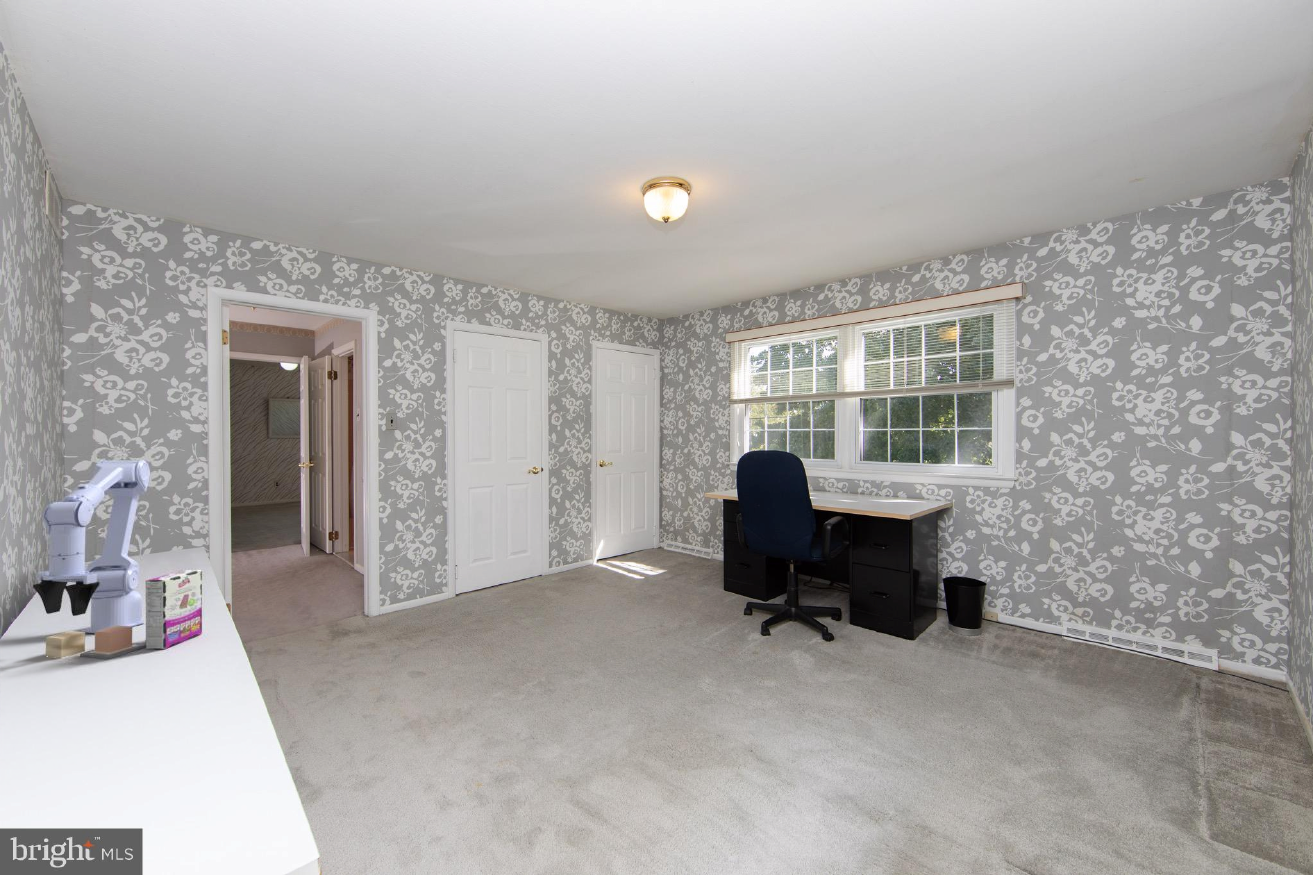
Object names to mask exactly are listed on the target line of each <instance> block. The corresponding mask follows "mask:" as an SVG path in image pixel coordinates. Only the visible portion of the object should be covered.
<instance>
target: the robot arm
mask: <svg viewBox="0 0 1313 875" xmlns="http://www.w3.org/2000/svg"><path fill="white" fill-rule="evenodd" d="M150 475H151V470H150V466H149V463H148V462H147V461H146V460H145V459H139V460H136V459H135V460H134V459H133V460H132V459H131V460H130V459H129V460H123V459H122V460H115V459H114V460H106V459H101V460H99V461H97V463H96V464H95V465H94V468H93V477H92V478H91V479H90V480H89V482H87V483H80V484H78V485H76V487H75V488H73V490H72V491H71V492H69V493H68V494H67V495H66V496H65V497H64V498H63V499H61V500H60V501H54V502H52V503H51V504H49V505H47V506H46V507H45V509H44V512H43V515H42V520H43V524H44V525H45V530H46V532H45V533H46V535H47V536H49V548H48V549H49V551H48V553H49V556H48V570H46V571H39V572H37V574H36V576H37V577H36V581H38V582H39V583H35V584H32V589H34V591H36V593H37V594H38V595H39V598H40V599H41V602H42V604H43V606H44V607H43V608H44V610H45V612H46V614H47V615H50V614H54V613H58V612H60V611H61V609H62V603H63V594H64V592H65V591H66V593H67V595H68V598H69V601H70V611H71V616H73V617H76V616H81V615H85V614H86V613H87V611H88V607H89V605H90V627H88V628H85V629H81V630H80V632H85V634H87V633H89V634H95V631H99V630H102V629H106V628H109V627H113V626H117V625H118V626H131V627H132V628H133V627H135V626H138V625H143V624H145V621H143V598H142V595H141V594H140V592H139V591H138V590H135V589H136V588H137V586H138V585H139V582H140V572H139V571H140V570H139V569H140V565H139V563H138V562H137V561H135V560H134V559H133V558H131V557H130V556H129V548H130V543H131V539H132V538H131V537H132V533H133V528H134V523H135V518H136V513H137V507H138V502H139V497H140V495H142V494H143V493H146V492H147V489H148V486H149V480H150ZM105 494H107V495H111V496H112V497H113V502H112V506H111V511H110V514H109V520H108V525H107V528H106V534H105V540H104V543H103V548H102V553H101V556H100V557H98V558H96V559H95V560H93V561H91V562H89V563H88V564H87V567H85V566H86V565H85V564H86V559H85V558H86V526H88V524H90V522H91V520H92V517H93V514H94V513H95V509H96V507H97V506H99V505H100V503H102V502H103V501H104V499H105V496H106V495H105ZM85 568H86V570H85ZM68 583H73V584H68Z"/></svg>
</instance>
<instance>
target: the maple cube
mask: <svg viewBox="0 0 1313 875" xmlns="http://www.w3.org/2000/svg"><path fill="white" fill-rule="evenodd" d="M84 652H86V633H85V632H81V631H73V630H72V631H71V630H69V631H65V632H62V633H61V632H60V633H57V634H53V635H49V636H46V637H45V657H46V656H48V657H47V658H51V657H56V658H55V659H64V658H63V657H65V658H67V657H66V656H68V657H71V656H73V655H74V654H75V655H77V654H81V653H84Z"/></svg>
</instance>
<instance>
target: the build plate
mask: <svg viewBox="0 0 1313 875" xmlns="http://www.w3.org/2000/svg"><path fill="white" fill-rule="evenodd" d="M143 648H144V649H145V648H146V643H137V642H132V646H130V647H127V648H124V649H121V650H117V651H114V652H111V653H108V652H97V651H95V648H94V649H91V650H88V651H85V652H81V653H79V657H82V658H83V657H84V658H93V659H101V660H103V659H104V660H110V659H113V658H116V657H120V656H122V655H125V654H128V653H132V652H135V651H138V650H141V649H143Z"/></svg>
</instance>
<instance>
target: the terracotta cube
mask: <svg viewBox="0 0 1313 875" xmlns="http://www.w3.org/2000/svg"><path fill="white" fill-rule="evenodd" d="M132 643H133V626H132V627H131V626H118V625H117V626H113V627H109V628H106V629H102V630H99V631H95V633H94V649H95V651H97V652H108V653H111V652H114V651H117V650H121V649H124V648H127V647H130V646H132Z"/></svg>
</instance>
